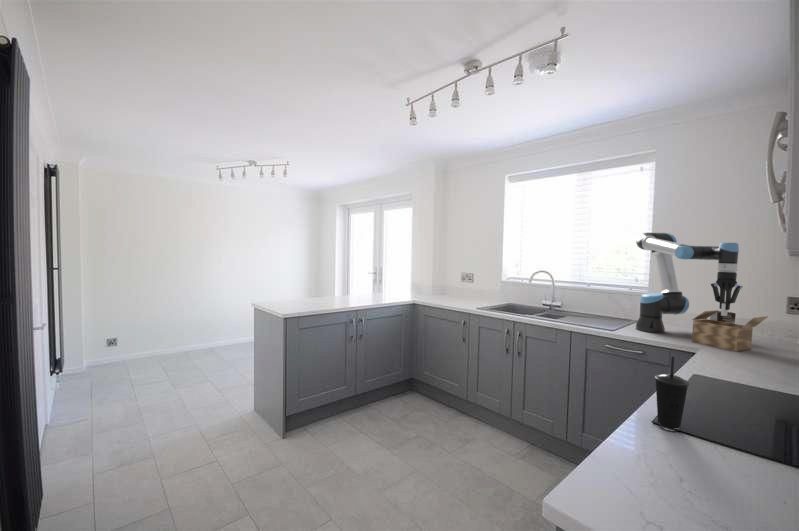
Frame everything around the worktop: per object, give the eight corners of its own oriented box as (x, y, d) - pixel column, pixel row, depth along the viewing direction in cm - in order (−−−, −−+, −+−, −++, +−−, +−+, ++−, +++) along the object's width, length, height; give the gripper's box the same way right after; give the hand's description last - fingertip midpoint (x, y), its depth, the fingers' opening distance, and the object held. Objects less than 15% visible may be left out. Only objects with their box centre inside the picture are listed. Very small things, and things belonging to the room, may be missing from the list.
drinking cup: (645, 420, 103) (649, 352, 102) (673, 421, 102) (678, 353, 101) (662, 433, 95) (667, 360, 94) (693, 435, 94) (698, 362, 94)
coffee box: (716, 340, 202) (718, 312, 202) (708, 337, 209) (709, 310, 208) (734, 341, 201) (736, 313, 201) (724, 338, 208) (726, 311, 207)
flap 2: (753, 317, 173) (754, 318, 173) (767, 316, 178) (768, 316, 178) (740, 328, 178) (741, 328, 178) (753, 326, 183) (754, 327, 183)
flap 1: (718, 310, 197) (718, 310, 197) (705, 311, 191) (704, 311, 192) (705, 318, 202) (705, 318, 202) (692, 320, 197) (691, 319, 197)
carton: (691, 341, 197) (693, 320, 197) (705, 340, 202) (706, 319, 202) (737, 351, 179) (739, 328, 178) (751, 349, 184) (752, 326, 183)
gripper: (708, 270, 192) (705, 313, 194) (739, 272, 181) (735, 318, 182) (716, 270, 195) (713, 313, 197) (746, 272, 184) (743, 317, 185)
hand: (724, 315), depth 189 cm, fingers closed
